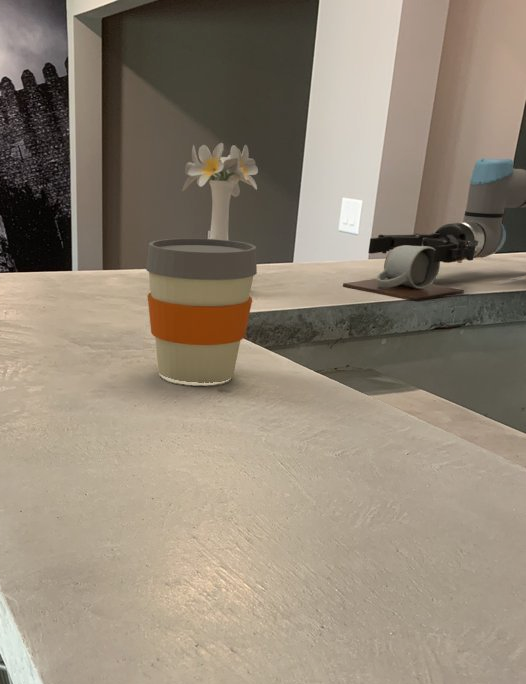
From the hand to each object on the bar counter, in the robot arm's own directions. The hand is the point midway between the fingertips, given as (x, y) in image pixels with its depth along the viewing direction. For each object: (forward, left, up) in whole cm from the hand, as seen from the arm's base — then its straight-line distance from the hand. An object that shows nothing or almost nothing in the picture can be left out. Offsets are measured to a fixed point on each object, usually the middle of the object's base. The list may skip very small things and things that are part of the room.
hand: (402, 250), depth 143 cm
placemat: (+1, -3, -8) cm, 8 cm away
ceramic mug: (0, -3, -7) cm, 8 cm away
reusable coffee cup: (-21, +69, -8) cm, 73 cm away
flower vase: (+19, +30, -8) cm, 36 cm away
